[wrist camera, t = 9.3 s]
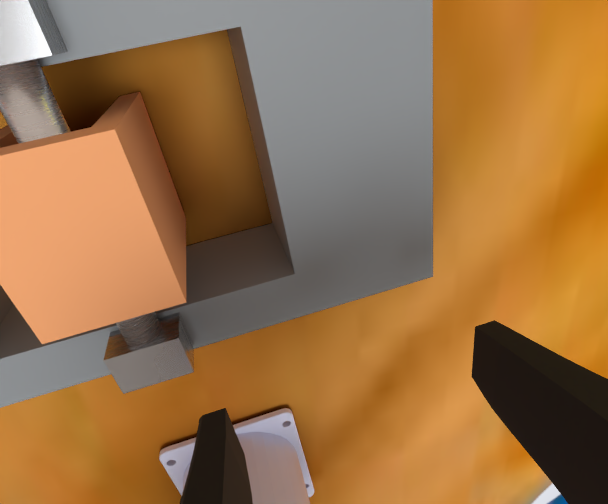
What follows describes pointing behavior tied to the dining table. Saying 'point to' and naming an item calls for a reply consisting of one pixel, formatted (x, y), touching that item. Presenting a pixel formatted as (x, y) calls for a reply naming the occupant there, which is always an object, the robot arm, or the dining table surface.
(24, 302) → the open-top orange sleeve
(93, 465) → the dining table surface
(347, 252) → the thick gray rectangular frame
